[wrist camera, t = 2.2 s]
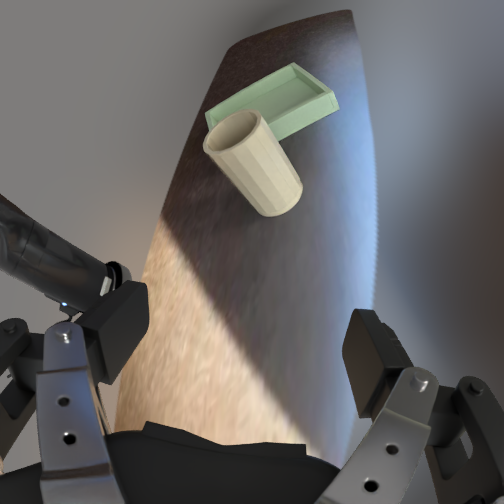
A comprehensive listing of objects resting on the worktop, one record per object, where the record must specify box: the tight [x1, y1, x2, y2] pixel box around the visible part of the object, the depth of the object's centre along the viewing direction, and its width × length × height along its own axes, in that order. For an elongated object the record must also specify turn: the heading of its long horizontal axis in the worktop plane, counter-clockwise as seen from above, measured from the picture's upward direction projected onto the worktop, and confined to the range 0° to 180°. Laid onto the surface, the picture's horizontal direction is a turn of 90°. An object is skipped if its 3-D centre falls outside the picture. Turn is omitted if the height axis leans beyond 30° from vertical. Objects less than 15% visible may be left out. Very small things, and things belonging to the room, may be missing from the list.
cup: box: [203, 109, 303, 217], centre depth 28 cm, size 6×6×10 cm
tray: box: [205, 63, 340, 141], centre depth 39 cm, size 18×15×3 cm
